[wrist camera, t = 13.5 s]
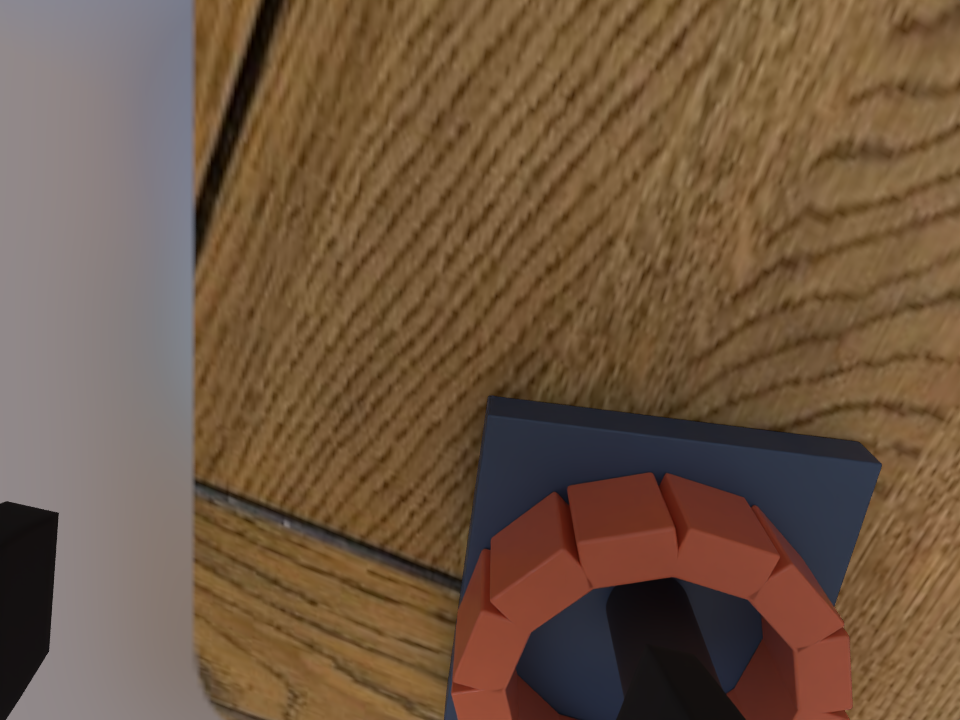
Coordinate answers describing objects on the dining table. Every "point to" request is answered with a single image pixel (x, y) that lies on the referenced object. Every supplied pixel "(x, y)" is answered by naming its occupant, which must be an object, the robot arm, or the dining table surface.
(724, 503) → the segmented red ring
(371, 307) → the dining table surface
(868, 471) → the ring stacking peg
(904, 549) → the dining table surface
